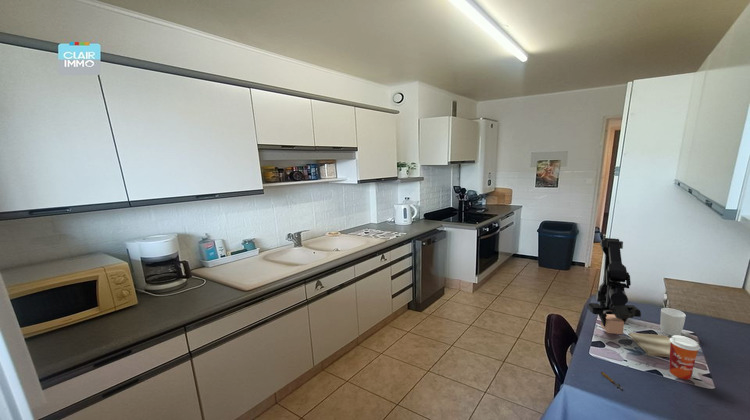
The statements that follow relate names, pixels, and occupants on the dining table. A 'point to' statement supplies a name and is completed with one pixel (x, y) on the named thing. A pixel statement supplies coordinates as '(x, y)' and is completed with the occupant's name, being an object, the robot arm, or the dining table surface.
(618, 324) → the terracotta cube
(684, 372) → the paper cup
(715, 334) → the dining table surface
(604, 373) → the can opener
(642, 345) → the birch board
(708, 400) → the dining table surface
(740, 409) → the dining table surface
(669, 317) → the white cup
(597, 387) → the dining table surface
